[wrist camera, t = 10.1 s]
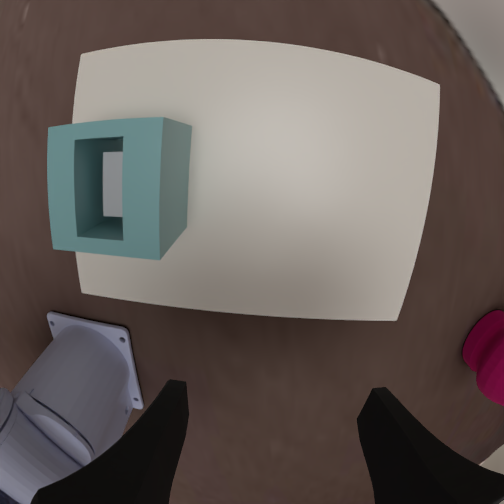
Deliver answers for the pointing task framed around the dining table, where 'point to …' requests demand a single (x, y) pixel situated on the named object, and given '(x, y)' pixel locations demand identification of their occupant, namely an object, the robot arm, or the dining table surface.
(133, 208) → the teal square tube
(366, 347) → the dining table surface
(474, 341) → the pepper mill
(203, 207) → the key plate
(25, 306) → the dining table surface
